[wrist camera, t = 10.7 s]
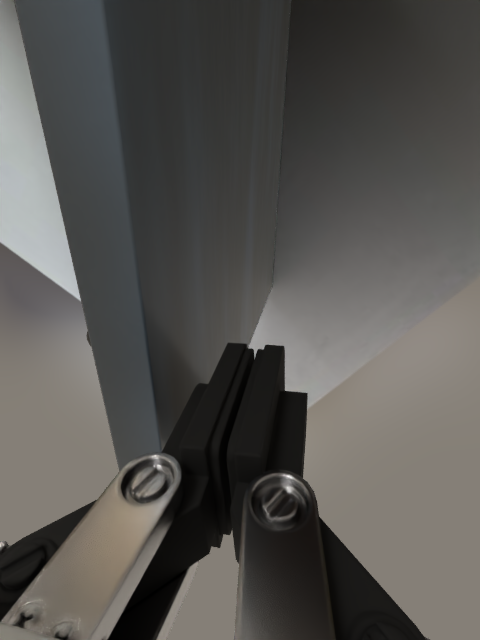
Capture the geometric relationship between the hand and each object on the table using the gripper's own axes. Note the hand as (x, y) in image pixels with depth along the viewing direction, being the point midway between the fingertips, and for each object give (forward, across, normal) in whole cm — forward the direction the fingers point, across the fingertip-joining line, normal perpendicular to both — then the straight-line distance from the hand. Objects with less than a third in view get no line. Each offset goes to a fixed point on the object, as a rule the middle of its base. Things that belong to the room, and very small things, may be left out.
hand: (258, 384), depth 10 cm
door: (+22, +5, -7) cm, 24 cm away
